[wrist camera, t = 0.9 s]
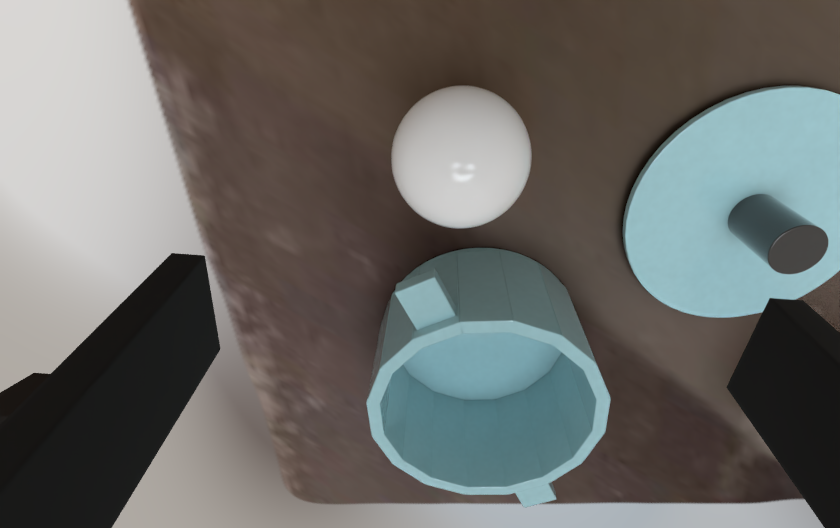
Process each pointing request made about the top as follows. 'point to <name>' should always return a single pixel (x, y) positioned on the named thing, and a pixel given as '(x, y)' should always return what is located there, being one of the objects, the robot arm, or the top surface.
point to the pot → (485, 377)
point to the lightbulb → (461, 156)
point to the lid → (740, 204)
